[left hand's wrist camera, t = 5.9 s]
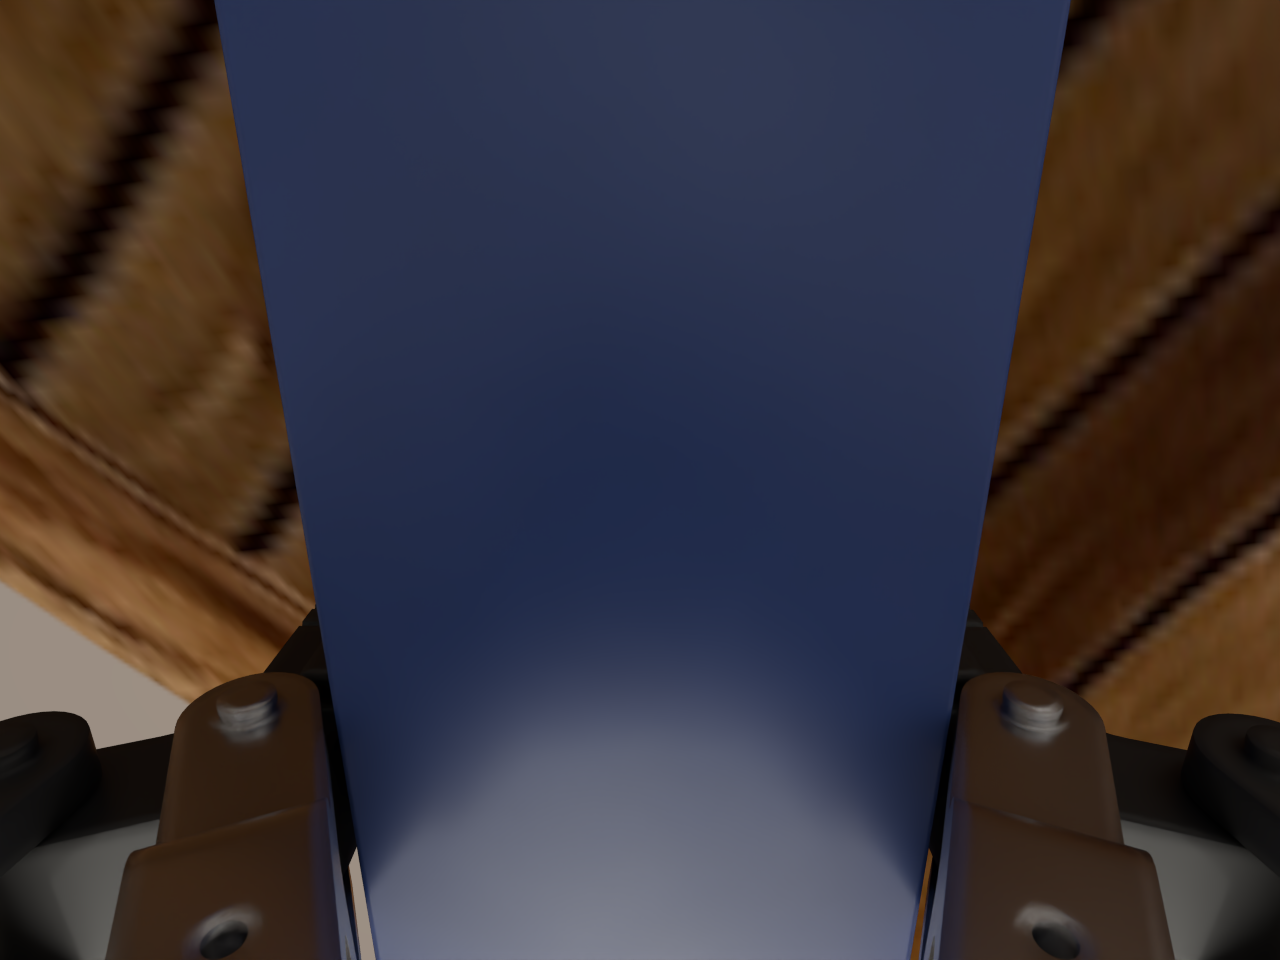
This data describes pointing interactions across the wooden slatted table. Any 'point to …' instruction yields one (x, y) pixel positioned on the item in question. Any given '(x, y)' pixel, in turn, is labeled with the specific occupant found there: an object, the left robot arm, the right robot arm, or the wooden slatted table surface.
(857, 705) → the bar
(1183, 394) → the wooden slatted table surface
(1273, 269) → the wooden slatted table surface
